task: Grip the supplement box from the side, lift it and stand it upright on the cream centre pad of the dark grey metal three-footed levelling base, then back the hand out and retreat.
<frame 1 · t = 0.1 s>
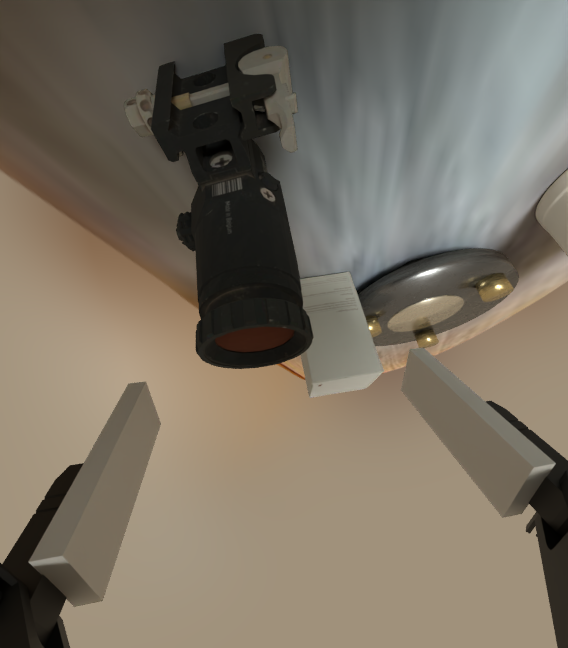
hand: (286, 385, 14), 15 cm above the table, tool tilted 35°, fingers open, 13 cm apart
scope: (232, 148, 18), on the table
levelling base: (414, 294, 39), on the table
supplement box: (318, 290, 35), on the table
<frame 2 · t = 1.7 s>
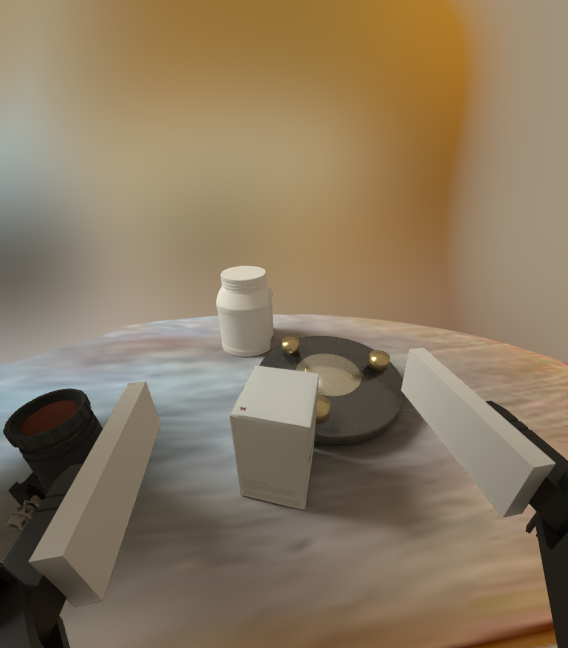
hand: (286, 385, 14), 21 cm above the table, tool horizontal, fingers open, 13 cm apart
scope: (96, 502, 29), on the table
jar: (249, 341, 56), on the table
levelling base: (326, 390, 43), on the table
supplement box: (280, 472, 32), on the table
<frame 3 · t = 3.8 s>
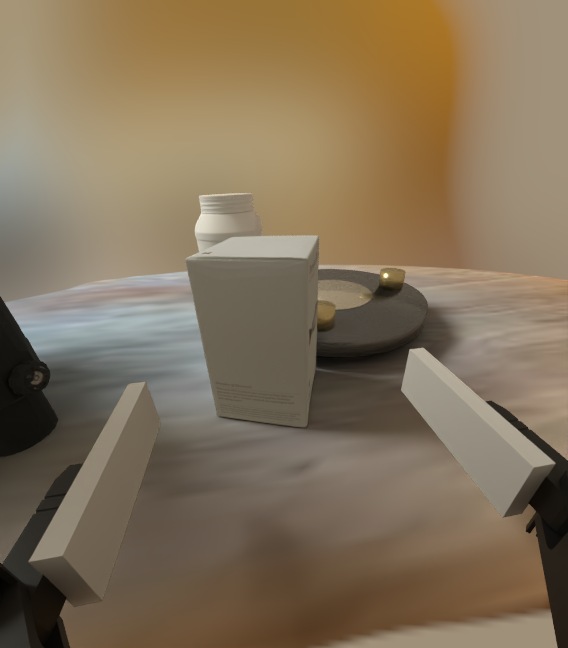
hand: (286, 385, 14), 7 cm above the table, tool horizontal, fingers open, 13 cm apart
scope: (14, 433, 21), on the table
jar: (237, 287, 49), on the table
levelling base: (329, 318, 35), on the table
supplement box: (272, 392, 23), on the table
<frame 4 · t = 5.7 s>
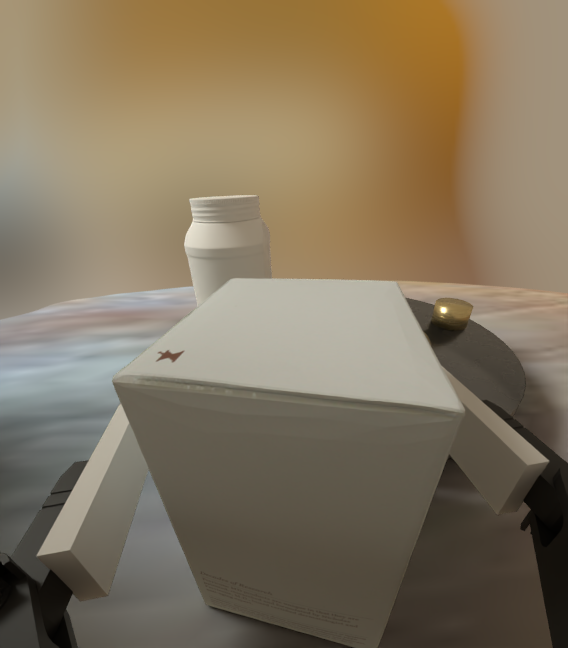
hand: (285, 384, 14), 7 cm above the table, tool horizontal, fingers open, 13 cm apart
jar: (239, 311, 39), on the table
levelling base: (365, 367, 26), on the table
supplement box: (299, 531, 14), on the table
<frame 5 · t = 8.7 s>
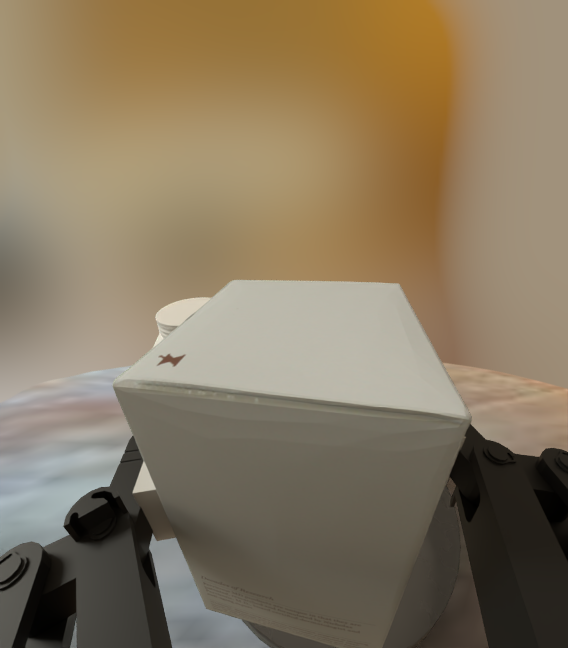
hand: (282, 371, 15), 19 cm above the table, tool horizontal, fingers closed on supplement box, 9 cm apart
jar: (211, 402, 40), on the table
levelling base: (322, 499, 27), on the table
supplement box: (300, 535, 14), point 12 cm above the table, touching gripper
when the fingers open (12 cm above the table, at t = 11.0 s): supplement box drops 1 cm, resting on levelling base.
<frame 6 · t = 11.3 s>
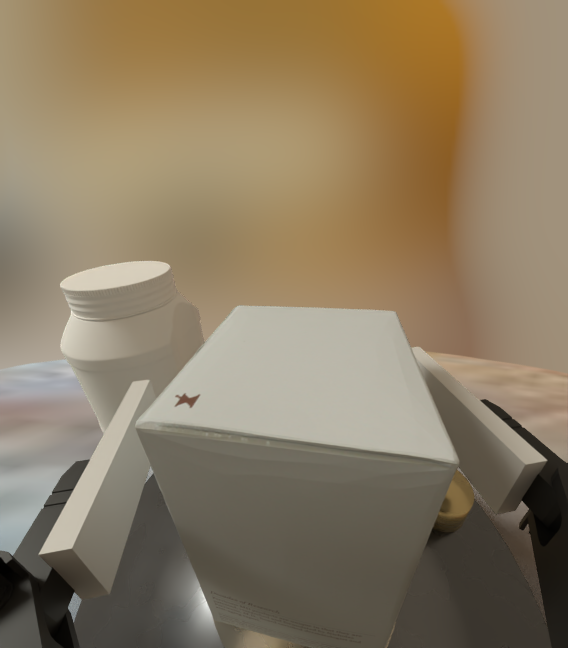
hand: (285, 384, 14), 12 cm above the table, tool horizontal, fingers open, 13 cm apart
jar: (163, 406, 30), on the table
levelling base: (301, 574, 16), on the table
supplement box: (302, 546, 15), point 3 cm above the table, touching levelling base
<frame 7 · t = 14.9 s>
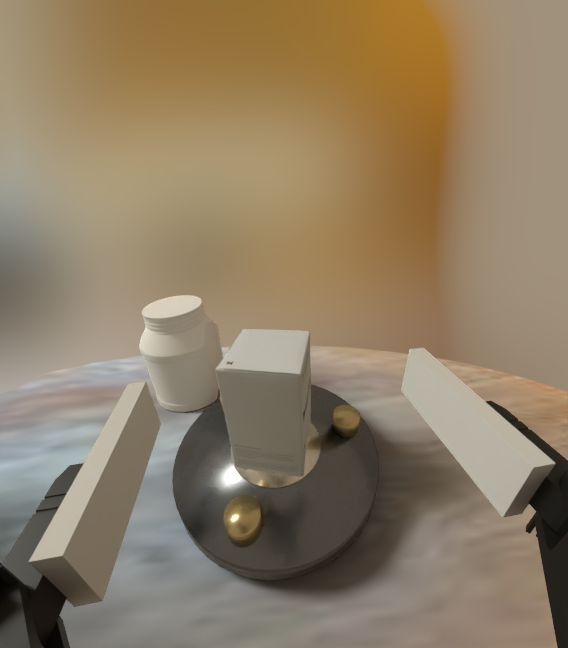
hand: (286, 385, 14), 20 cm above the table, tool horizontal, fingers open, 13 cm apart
jar: (194, 388, 45), on the table
levelling base: (277, 464, 32), on the table
supplement box: (276, 443, 30), point 3 cm above the table, touching levelling base
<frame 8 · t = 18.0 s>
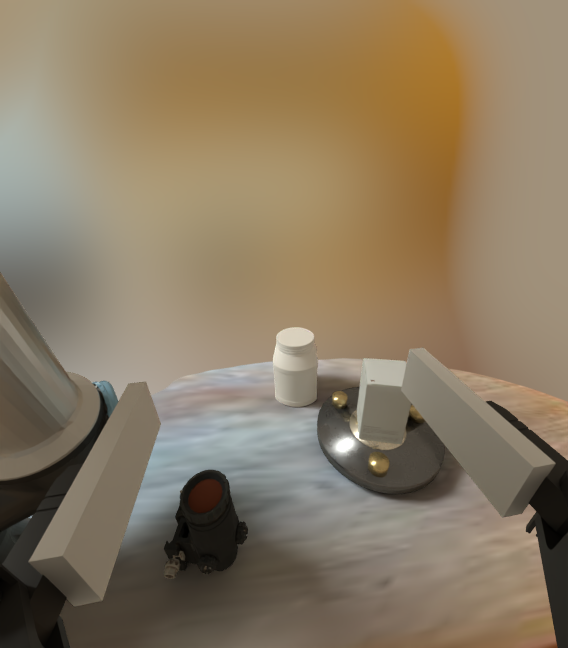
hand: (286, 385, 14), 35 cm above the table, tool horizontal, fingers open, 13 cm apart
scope: (215, 551, 37), on the table
jar: (296, 390, 65), on the table
levelling base: (374, 439, 51), on the table
supplement box: (377, 426, 49), point 3 cm above the table, touching levelling base
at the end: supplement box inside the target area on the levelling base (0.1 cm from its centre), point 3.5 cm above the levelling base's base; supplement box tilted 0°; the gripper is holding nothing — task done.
